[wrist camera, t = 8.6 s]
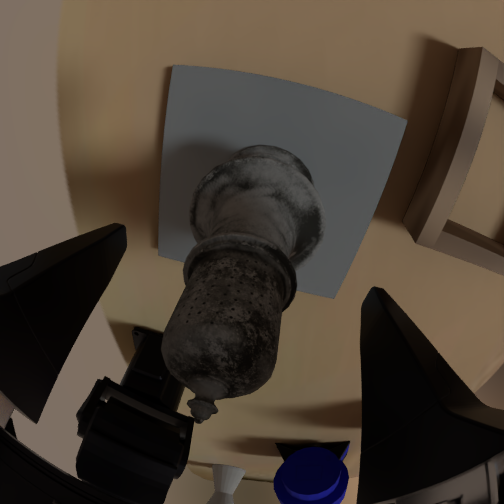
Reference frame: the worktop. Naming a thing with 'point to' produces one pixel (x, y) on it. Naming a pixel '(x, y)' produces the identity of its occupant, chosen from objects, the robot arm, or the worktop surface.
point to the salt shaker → (241, 273)
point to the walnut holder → (457, 163)
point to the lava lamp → (225, 483)
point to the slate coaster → (283, 136)
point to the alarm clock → (312, 475)
